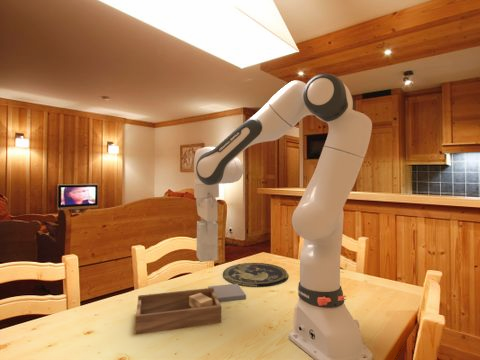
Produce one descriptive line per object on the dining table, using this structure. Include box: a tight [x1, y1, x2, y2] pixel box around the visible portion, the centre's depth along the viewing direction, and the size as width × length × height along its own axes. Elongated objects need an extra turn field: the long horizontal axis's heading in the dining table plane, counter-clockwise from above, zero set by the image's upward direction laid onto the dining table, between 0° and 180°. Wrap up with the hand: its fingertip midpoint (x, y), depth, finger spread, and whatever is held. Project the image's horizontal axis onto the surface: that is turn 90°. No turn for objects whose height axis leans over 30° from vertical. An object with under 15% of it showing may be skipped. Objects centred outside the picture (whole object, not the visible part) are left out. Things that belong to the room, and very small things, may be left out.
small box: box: [196, 220, 219, 263], centre depth 104 cm, size 8×6×13 cm
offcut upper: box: [189, 293, 212, 308], centre depth 95 cm, size 7×4×3 cm, turn 41°
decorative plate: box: [222, 262, 289, 288], centre depth 134 cm, size 30×2×30 cm
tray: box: [135, 287, 222, 335], centre depth 93 cm, size 13×25×6 cm, turn 106°
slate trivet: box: [207, 283, 247, 303], centre depth 111 cm, size 12×12×2 cm
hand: (207, 231), depth 104 cm, fingers closed on small box, 8 cm apart
